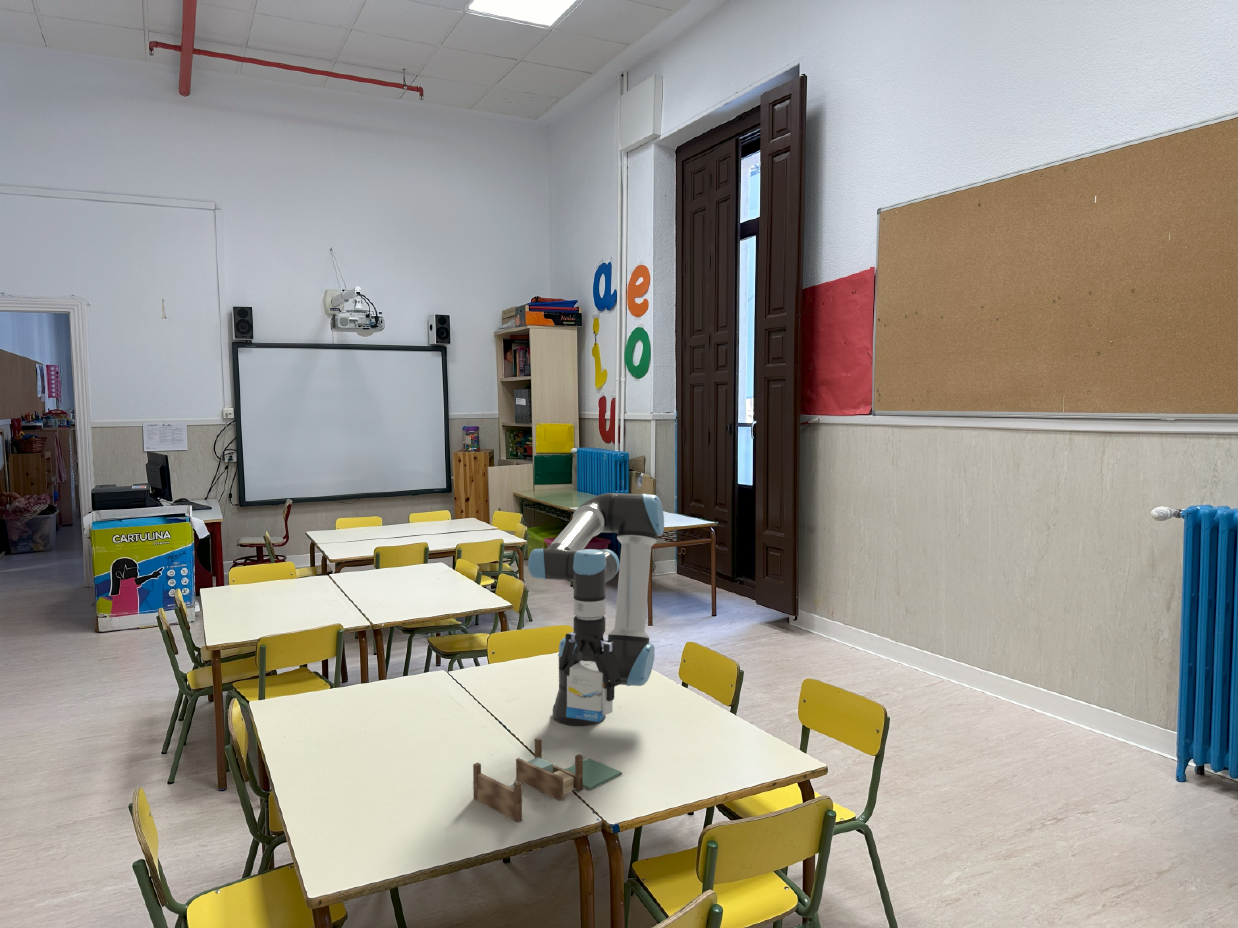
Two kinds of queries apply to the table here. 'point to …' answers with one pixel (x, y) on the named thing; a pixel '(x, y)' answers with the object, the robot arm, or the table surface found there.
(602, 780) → the mat
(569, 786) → the offcut
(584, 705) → the ink box
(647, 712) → the table surface
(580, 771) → the rack
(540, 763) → the offcut
